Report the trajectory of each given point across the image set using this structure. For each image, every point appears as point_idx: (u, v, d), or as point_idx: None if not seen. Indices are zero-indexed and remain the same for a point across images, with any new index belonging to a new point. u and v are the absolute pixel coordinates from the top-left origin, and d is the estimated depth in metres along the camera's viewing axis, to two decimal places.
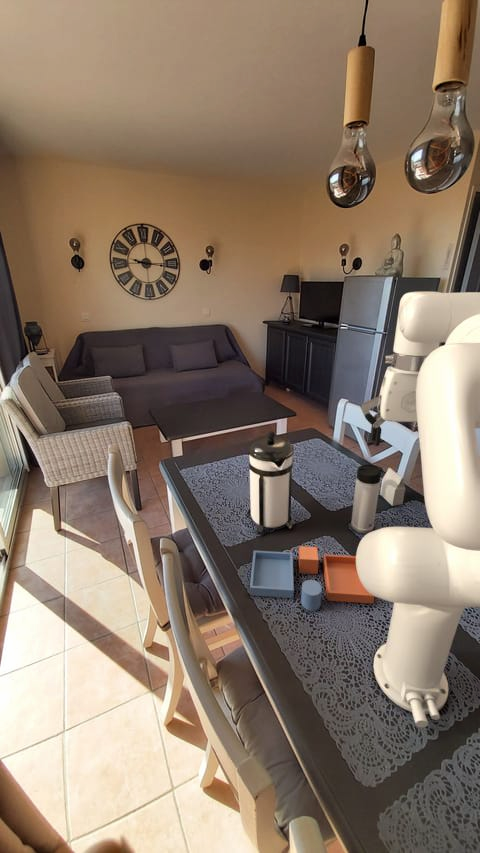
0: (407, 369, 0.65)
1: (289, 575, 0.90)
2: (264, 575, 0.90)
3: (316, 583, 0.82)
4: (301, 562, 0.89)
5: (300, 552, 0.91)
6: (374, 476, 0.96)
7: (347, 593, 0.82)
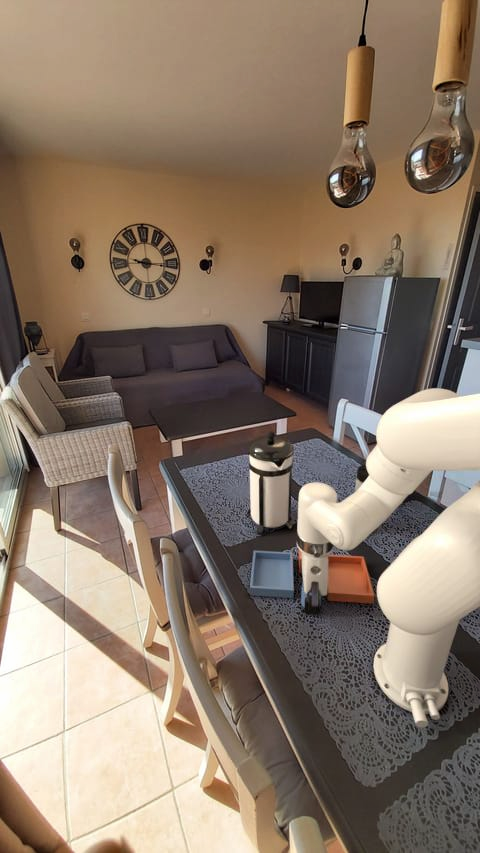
0: (331, 548, 0.74)
1: (289, 575, 0.90)
2: (264, 575, 0.90)
3: None
4: (301, 562, 0.89)
5: (300, 552, 0.91)
6: None
7: (347, 593, 0.82)
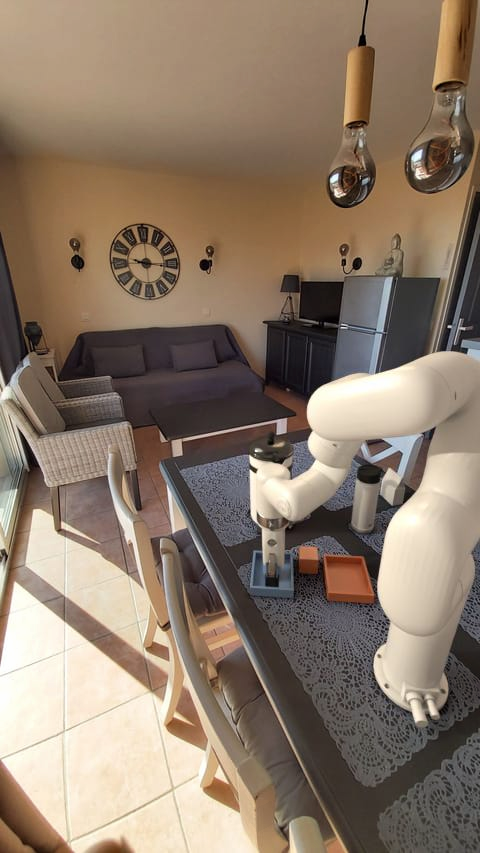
0: (287, 523, 0.81)
1: (289, 575, 0.90)
2: None
3: None
4: (301, 562, 0.89)
5: (300, 552, 0.91)
6: (374, 476, 0.96)
7: (347, 593, 0.82)
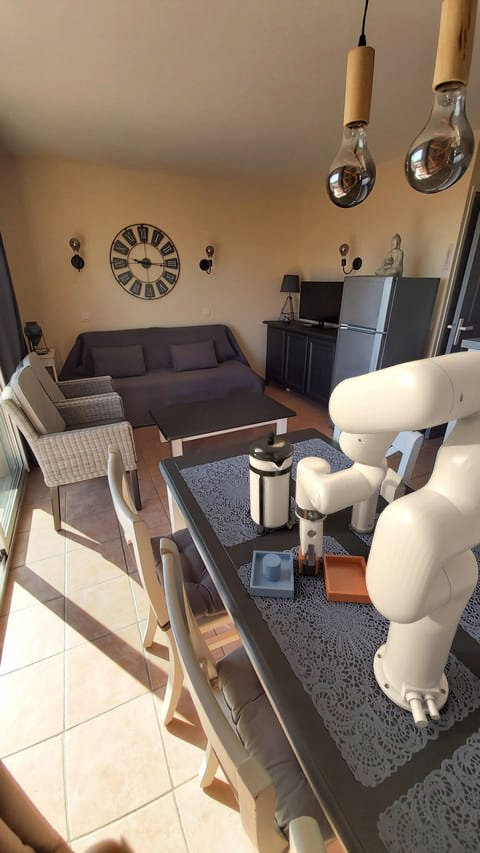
0: (325, 515, 0.84)
1: (289, 575, 0.90)
2: None
3: (276, 556, 0.89)
4: (301, 562, 0.89)
5: (300, 552, 0.91)
6: None
7: (347, 593, 0.82)
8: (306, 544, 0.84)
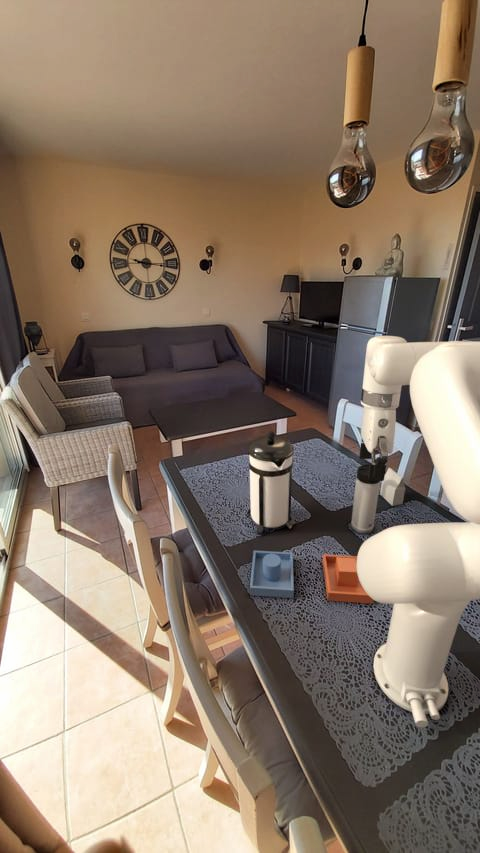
0: (398, 403, 0.73)
1: (289, 575, 0.90)
2: None
3: (276, 556, 0.89)
4: (340, 574, 0.85)
5: (338, 564, 0.87)
6: None
7: (347, 593, 0.82)
8: (376, 436, 0.73)
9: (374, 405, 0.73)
